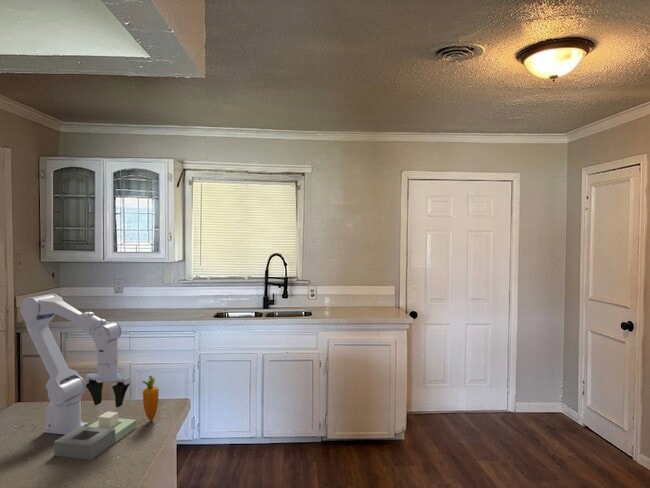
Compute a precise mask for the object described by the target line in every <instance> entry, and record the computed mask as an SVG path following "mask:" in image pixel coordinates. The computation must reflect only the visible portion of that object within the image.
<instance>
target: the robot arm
mask: <svg viewBox="0 0 650 488" xmlns="http://www.w3.org/2000/svg"><path fill="white" fill-rule="evenodd" d="M19 312H20V314H21V316H22V318H23V320H24V322H25V327H26V329H27V332H28V334H29V336H30V338H31V340H32V342H33V345H34V347H35V349H36V351H37V352H38V354H39V357H40V359H41V361H42V363H43V366H44V367H45V369H46V372H47V374H48V375H49V379H48V381H47V382H46V384H45V388H46V390H47V398H48V400H49V402H50V403H48V405H47V407H46V411H45V422H46V423H45V426H46V429H45V430H44V431H43V432H44V433H48V434H56V435H66V434H68V433H69V432H71V431H73V430H74V429H76V428H78V427H80V426H88V424H89V423H88V422H86V421H85V422H84V421H82V405H81V403H82V402H81V401H82V400H81V399H82V398H83V395H84V393H85V392H86V389H87V390H88V392H89V394H90V396H91V398H92V400H93V404H94V406H97V405H100V404H101V403H102V399H103V398H102V391H103V387H104V386H103V385H104V383H112V384H114V385H113V386H111V387H112V390H113V393H114V398H115V399H114V400H115V401H114V403H115V408H120V407H121V406H123V403H124V400H125V395H126V392H127V390H128V388H129V387H130V385H131V382H132V381H131V376H127V375H124V374H120V373H119V364H118V363H119V356H118V354H119V352H118V348H119V347H118V339H120V337H121V335H122V328H121V326H120V324H118V323H117V322H116V321H107V320H106V319H104V318H103V319H102V318H101V317H99V316H97V315H95V312H92V311H84V312H82V311H80V310H78V309H77V308H75V307H74V306H72V305H70V304H68V302H65V301H64V300H63V298H62V296H59V295H57V294H56V293H52V292H51V293H48V294H44V295H38V296H29V297H26V298H24V299H23V300H22V303H21V305H20V308H19ZM56 315H57V316H60V317H62V318H64V319H67V320H69V321H70V322H73V323H75V324H74V325H75V328H76V329H78V330H79V331H82V332H83V333H85V334H87V335H88V336H91V338H92V340H93V342H94V343H95V348H96V358H97V359H96V361H97V362H96V363H97V364H96V365H97V367H96V368H97V372H96V373H92V372H91V373H88V374H86V375H85V380H84V378H83V377H82V376H81V375H80V374H79V372H78V371H77V370H75V369H71V368H70V367H69V365H68V364H67V362H66V360H65V358H64V356H63V354H62V351H61V350H60V348H59V345H58V343H57V342H56V340H55V338H54V335H53V333H52V331H51V329H50V327H49V324H50V322H51V321H52V320H53V318H54V317H55V316H56ZM86 382H88V383H86Z"/></svg>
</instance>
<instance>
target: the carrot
mask: <svg viewBox="0 0 650 488" xmlns="http://www.w3.org/2000/svg"><path fill="white" fill-rule="evenodd" d="M148 378H149V379H148V382H147V381H145V380H142V384H145V385H146V387H145V388H144V389H143V390H142V401H143V402H142V403H143V408H144V412H145V415H146V418H147V419H148V420H149V421H150V422H153V421H154V419H155V417H156V414H157V411H158V407H159V406H158V405H159V391H160V390H159V388H158V387H157V386H155V385H154V384H155V380H156V379H155V377H153V375H149V376H148Z"/></svg>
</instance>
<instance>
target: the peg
mask: <svg viewBox="0 0 650 488" xmlns="http://www.w3.org/2000/svg"><path fill="white" fill-rule="evenodd" d="M119 418H120V417H119V412H117V411H109V410H108V411H105V412H104V413H101V415H99V416H98V417H97V419H98V420H97V421H98V424H99V428H106V429H113V428H114V427H116V426H117V425H119Z"/></svg>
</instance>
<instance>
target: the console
mask: <svg viewBox="0 0 650 488" xmlns="http://www.w3.org/2000/svg"><path fill="white" fill-rule="evenodd" d="M136 428H137V419H132V418H131V419H130V418H129V419H128V418H121V417H119V425H117V426H116V427H114V428H113V429H106V428H99V424H98V420H96V421H94V422H92V423H91V424H90V425H85V426H80V427H78V428H76V429H74V430H73V431H71V432H69V433H68V434H66V435H65V434H63V436H61V437H59V438H58V439H56V440H54V441H53V456H56V457H63V458H71V459H81V460H88V461H89V460H90V461H91V460H92V461H93V459H94V458H96V457H97V456H99V455H101V453H103V452H104V451H106V450H107V449H108V448H110V447H111V446H113V445H115V443H117V442H119V441H120V440H121V439H123V438H124V437H125V436H127V435H128V434H130V433H131V432H133V431H134V430H135V429H136Z"/></svg>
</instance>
